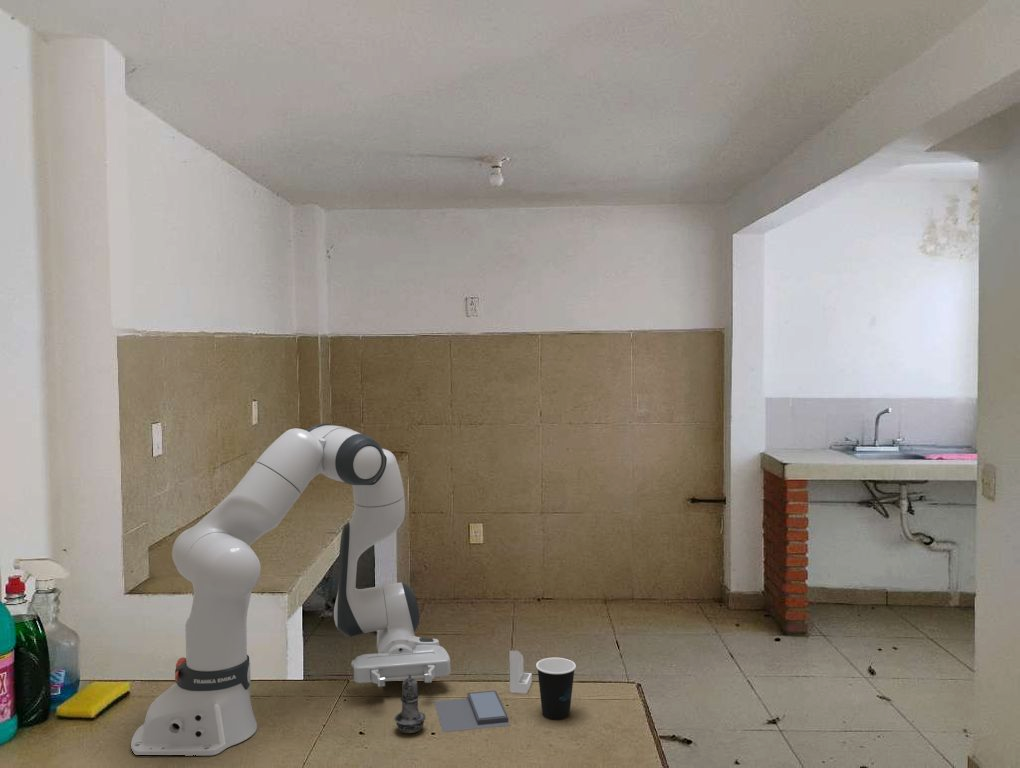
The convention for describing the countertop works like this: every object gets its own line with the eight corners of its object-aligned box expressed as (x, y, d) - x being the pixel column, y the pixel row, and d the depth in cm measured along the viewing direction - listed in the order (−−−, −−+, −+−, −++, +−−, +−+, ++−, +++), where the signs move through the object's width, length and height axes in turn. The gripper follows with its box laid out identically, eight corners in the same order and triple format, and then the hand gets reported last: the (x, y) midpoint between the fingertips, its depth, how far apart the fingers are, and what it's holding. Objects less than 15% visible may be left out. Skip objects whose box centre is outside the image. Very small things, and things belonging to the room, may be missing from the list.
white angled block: (505, 693, 175) (509, 650, 179) (513, 700, 184) (517, 658, 188) (523, 695, 175) (526, 651, 179) (530, 701, 183) (533, 659, 187)
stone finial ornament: (432, 733, 163) (431, 672, 163) (411, 745, 158) (411, 682, 158) (408, 725, 167) (408, 665, 166) (388, 737, 162) (387, 675, 161)
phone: (477, 724, 165) (477, 720, 165) (467, 697, 177) (467, 692, 177) (508, 722, 166) (508, 717, 166) (495, 694, 179) (495, 690, 179)
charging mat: (442, 737, 162) (442, 732, 162) (434, 705, 176) (434, 701, 175) (509, 730, 164) (509, 725, 164) (496, 700, 178) (496, 695, 178)
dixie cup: (574, 729, 165) (574, 673, 164) (533, 726, 166) (533, 671, 166) (577, 711, 173) (577, 658, 172) (538, 708, 174) (538, 656, 173)
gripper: (350, 645, 184) (352, 669, 170) (445, 638, 188) (454, 661, 174) (351, 674, 184) (352, 700, 170) (445, 666, 188) (454, 691, 175)
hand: (404, 680), depth 172 cm, fingers open, 8 cm apart
